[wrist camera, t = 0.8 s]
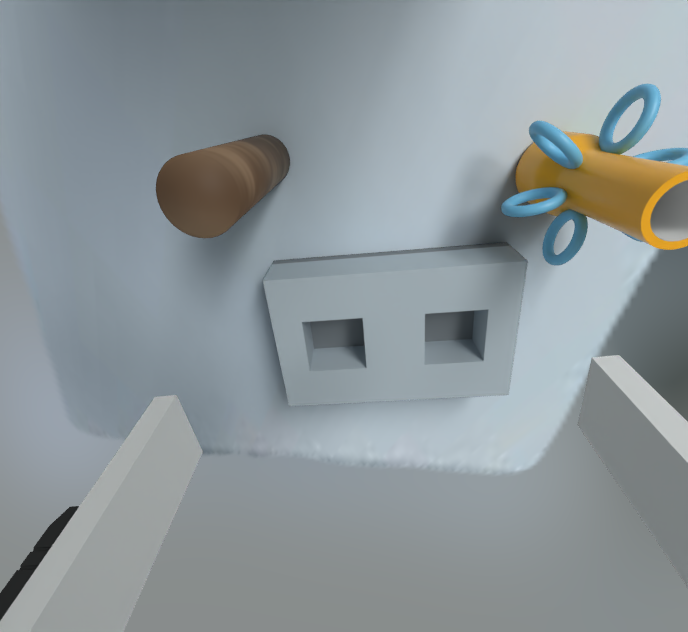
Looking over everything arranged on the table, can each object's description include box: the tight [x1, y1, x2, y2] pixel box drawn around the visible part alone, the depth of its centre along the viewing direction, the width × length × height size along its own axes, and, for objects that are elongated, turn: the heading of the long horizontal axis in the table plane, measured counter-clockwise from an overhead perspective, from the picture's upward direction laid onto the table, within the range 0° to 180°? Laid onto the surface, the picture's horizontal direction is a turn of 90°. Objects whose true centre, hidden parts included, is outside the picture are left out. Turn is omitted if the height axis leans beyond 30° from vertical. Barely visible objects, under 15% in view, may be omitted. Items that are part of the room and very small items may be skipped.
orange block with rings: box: [501, 84, 688, 265], centre depth 26 cm, size 12×10×15 cm
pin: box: [156, 135, 290, 238], centre depth 25 cm, size 4×4×16 cm
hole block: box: [263, 242, 528, 406], centre depth 37 cm, size 14×22×5 cm, turn 95°
